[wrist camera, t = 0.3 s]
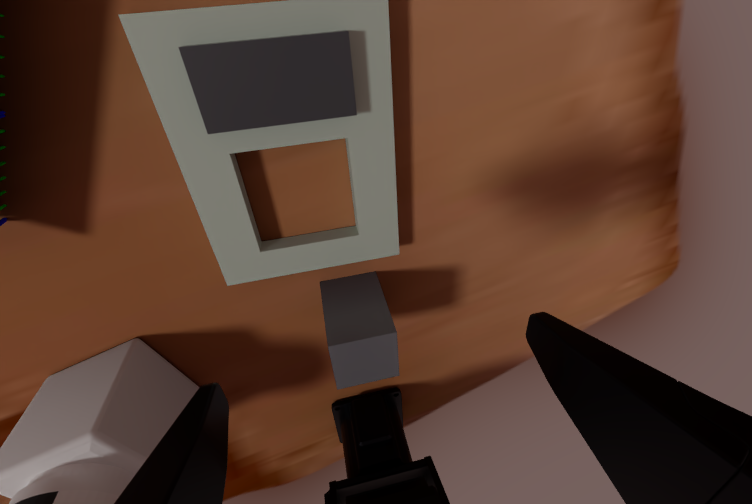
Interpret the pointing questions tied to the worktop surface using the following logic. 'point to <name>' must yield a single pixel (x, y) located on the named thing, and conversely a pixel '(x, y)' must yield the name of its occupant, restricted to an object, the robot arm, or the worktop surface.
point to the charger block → (359, 330)
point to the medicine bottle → (92, 427)
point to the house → (0, 115)
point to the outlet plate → (275, 117)
